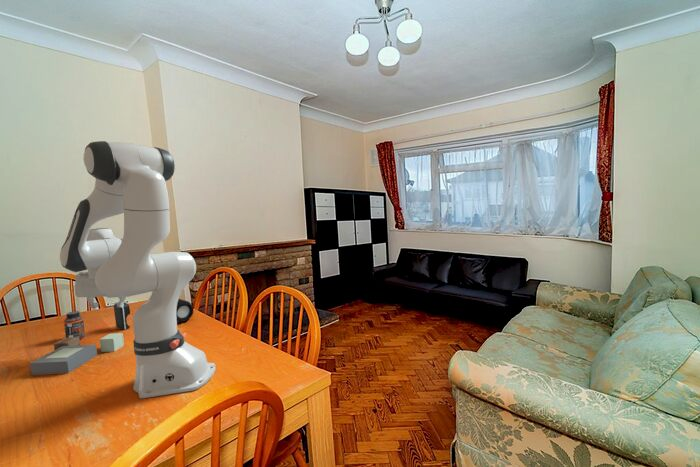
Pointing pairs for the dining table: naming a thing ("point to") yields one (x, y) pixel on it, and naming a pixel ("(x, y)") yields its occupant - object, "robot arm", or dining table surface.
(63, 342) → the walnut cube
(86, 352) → the base block
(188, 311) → the portable speaker
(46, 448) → the dining table surface
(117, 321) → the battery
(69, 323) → the supplement bottle
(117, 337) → the sage cube
